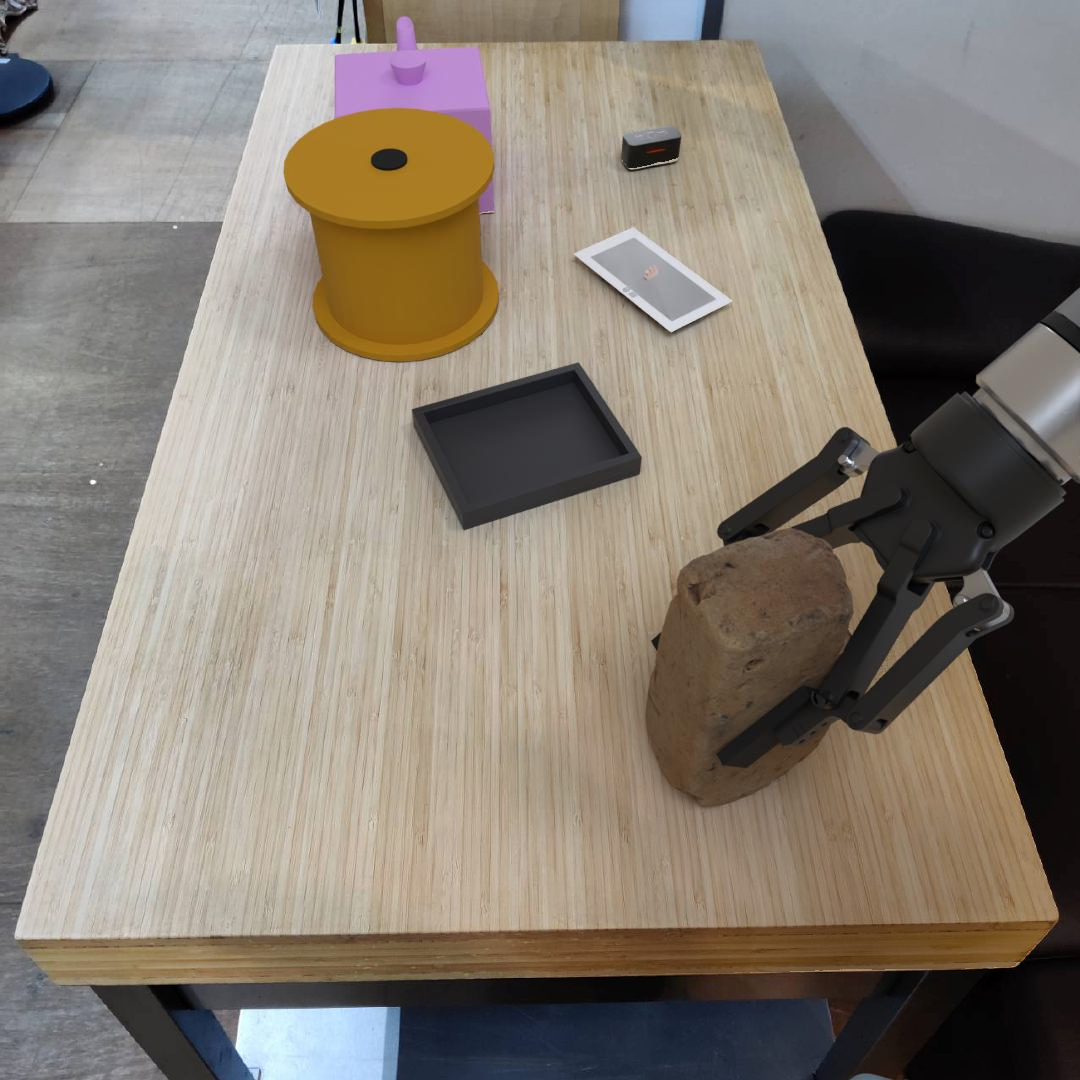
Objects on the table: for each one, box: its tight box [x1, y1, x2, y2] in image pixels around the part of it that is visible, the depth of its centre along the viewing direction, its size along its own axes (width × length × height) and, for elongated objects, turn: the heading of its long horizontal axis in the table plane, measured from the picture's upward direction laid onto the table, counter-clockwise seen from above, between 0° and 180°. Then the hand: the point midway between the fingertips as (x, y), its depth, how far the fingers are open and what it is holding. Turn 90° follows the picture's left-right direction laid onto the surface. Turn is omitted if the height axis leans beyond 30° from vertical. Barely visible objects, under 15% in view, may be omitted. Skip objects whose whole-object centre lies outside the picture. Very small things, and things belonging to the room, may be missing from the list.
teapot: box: [333, 15, 495, 213], centre depth 104 cm, size 15×25×14 cm, turn 7°
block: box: [645, 527, 854, 808], centre depth 58 cm, size 11×8×20 cm
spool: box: [282, 108, 500, 363], centre depth 90 cm, size 18×18×15 cm
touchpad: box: [573, 226, 733, 333], centre depth 97 cm, size 8×15×2 cm, turn 36°
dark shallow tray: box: [411, 362, 643, 531], centre depth 83 cm, size 13×16×2 cm
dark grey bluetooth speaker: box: [620, 125, 682, 168], centre depth 111 cm, size 5×7×3 cm, turn 109°
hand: (697, 702), depth 59 cm, fingers closed on block, 7 cm apart
